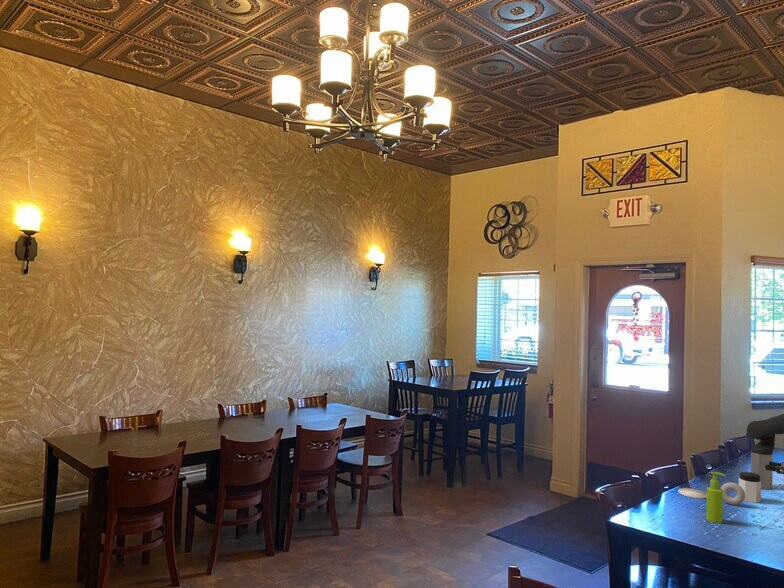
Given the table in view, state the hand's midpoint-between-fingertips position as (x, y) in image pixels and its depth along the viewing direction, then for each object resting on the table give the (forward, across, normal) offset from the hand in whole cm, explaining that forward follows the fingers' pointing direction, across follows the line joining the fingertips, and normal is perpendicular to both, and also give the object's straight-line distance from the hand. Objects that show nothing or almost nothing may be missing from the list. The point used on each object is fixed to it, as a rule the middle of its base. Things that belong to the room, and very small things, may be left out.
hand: (767, 465), depth 251 cm
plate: (+30, -3, +20) cm, 37 cm away
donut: (+13, 0, +21) cm, 25 cm away
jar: (+9, -15, +20) cm, 27 cm away
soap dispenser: (+13, +30, +21) cm, 39 cm away
